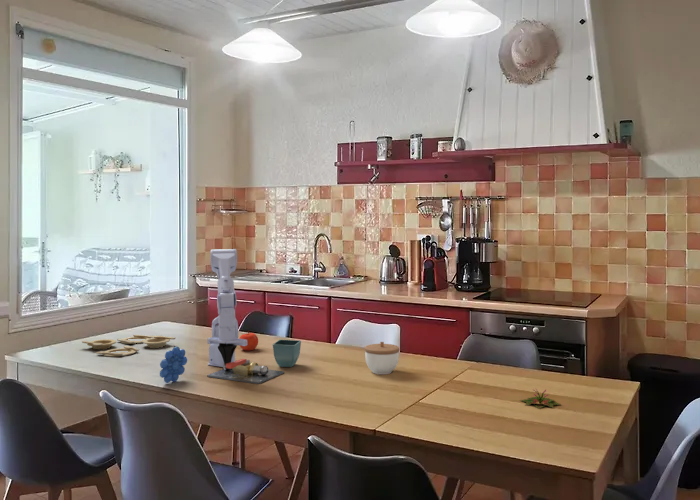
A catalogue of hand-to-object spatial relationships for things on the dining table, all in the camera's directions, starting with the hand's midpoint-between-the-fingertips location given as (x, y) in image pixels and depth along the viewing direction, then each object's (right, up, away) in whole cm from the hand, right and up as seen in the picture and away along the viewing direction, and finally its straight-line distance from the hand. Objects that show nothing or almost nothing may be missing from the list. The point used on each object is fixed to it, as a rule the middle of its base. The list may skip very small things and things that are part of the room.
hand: (227, 365), depth 220 cm
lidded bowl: (+55, -4, +8) cm, 55 cm away
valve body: (+6, -4, +4) cm, 8 cm away
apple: (0, -2, +44) cm, 44 cm away
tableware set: (-53, -2, +50) cm, 73 cm away
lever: (+4, -1, +1) cm, 4 cm away
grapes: (-18, -5, -5) cm, 19 cm away
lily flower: (+101, -7, -30) cm, 105 cm away
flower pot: (+19, -4, +17) cm, 26 cm away
